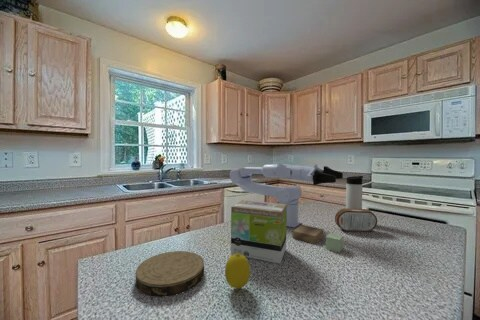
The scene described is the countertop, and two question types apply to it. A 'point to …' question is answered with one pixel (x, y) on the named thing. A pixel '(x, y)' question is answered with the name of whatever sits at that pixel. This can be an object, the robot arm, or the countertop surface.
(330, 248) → the sage cube
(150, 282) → the wooden coaster disc
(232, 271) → the lemon
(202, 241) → the countertop surface
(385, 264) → the countertop surface
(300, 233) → the walnut block
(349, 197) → the travel mug
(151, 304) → the countertop surface
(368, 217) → the tin
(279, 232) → the tea box
